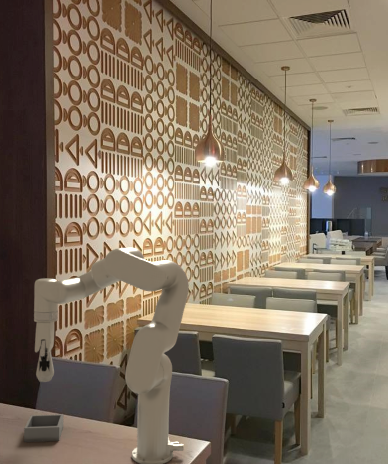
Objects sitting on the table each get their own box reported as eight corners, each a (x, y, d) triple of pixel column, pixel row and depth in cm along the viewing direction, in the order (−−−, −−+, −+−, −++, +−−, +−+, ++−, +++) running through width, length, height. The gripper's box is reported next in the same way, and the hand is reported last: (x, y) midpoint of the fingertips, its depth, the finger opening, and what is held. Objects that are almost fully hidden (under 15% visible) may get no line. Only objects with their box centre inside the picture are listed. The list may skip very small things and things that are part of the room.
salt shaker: (56, 377, 173) (56, 339, 172) (51, 383, 167) (52, 343, 167) (38, 377, 173) (39, 339, 172) (33, 382, 167) (34, 343, 167)
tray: (63, 427, 176) (63, 414, 176) (59, 440, 165) (59, 427, 165) (30, 428, 175) (30, 415, 175) (24, 442, 164) (24, 428, 164)
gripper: (38, 311, 177) (37, 364, 177) (29, 321, 161) (28, 379, 161) (60, 311, 178) (60, 364, 178) (54, 320, 162) (53, 378, 162)
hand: (45, 370), depth 170 cm, fingers closed on salt shaker, 3 cm apart
